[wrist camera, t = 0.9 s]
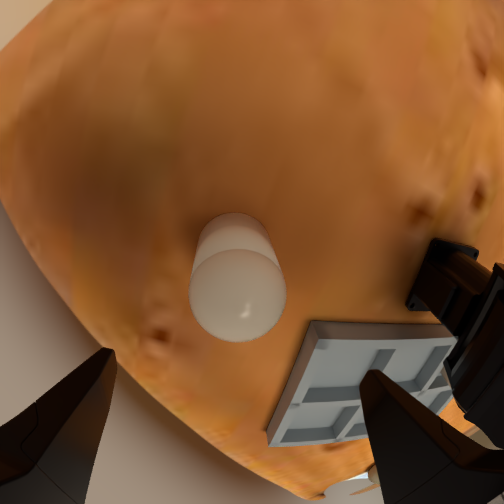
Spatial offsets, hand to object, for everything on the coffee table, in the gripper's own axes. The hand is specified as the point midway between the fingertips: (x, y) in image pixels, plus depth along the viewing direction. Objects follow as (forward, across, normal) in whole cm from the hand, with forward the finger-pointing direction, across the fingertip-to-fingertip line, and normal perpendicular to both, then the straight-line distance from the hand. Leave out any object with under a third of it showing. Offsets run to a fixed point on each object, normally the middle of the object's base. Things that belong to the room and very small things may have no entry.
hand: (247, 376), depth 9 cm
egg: (+11, 0, 0) cm, 11 cm away
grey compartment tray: (+11, -18, +13) cm, 25 cm away
